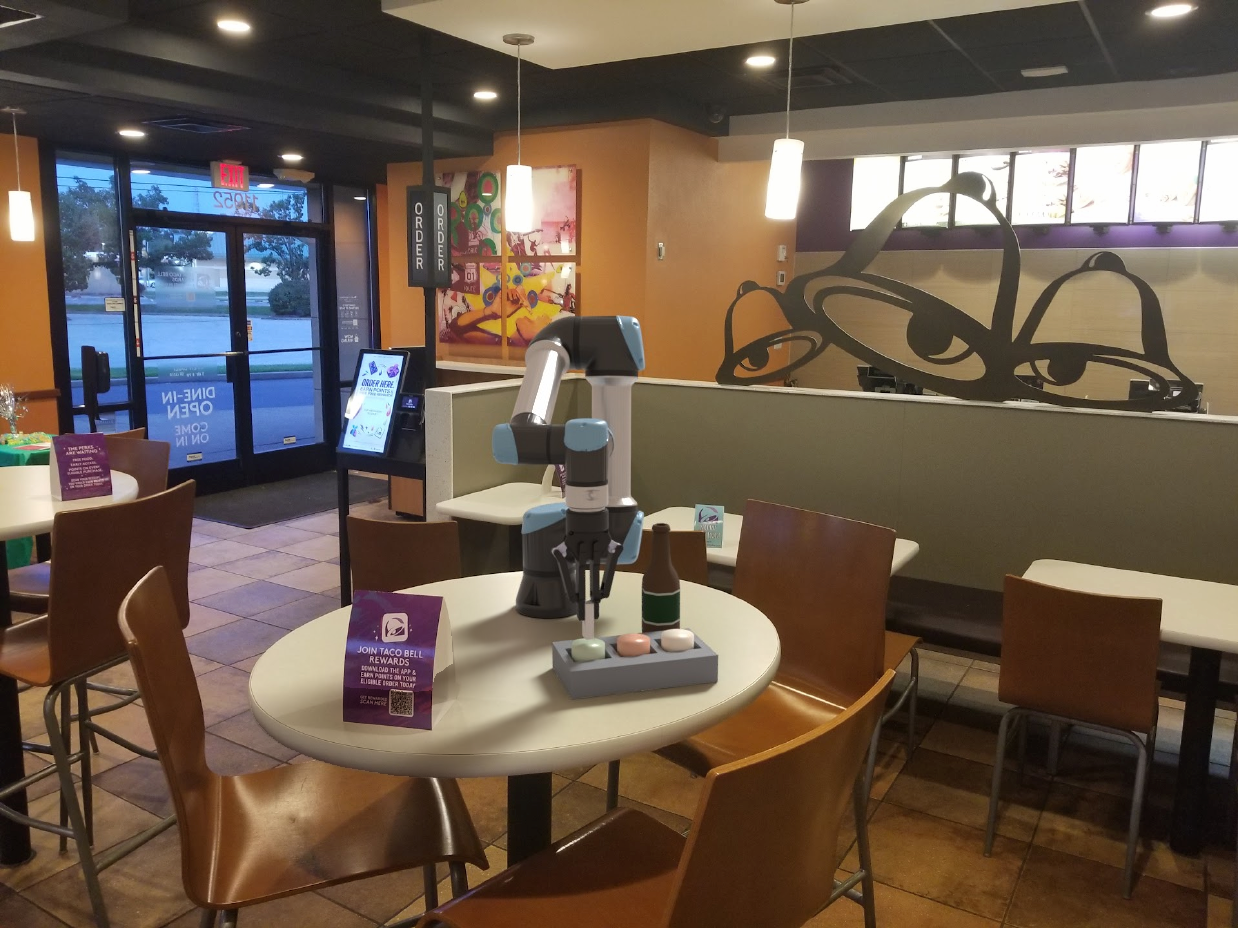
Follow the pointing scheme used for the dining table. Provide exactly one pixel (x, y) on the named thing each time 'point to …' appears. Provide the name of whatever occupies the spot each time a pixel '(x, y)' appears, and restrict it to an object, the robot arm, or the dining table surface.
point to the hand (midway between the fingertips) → (588, 636)
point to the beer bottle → (660, 586)
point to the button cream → (677, 640)
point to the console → (634, 668)
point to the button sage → (588, 650)
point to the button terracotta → (633, 645)
